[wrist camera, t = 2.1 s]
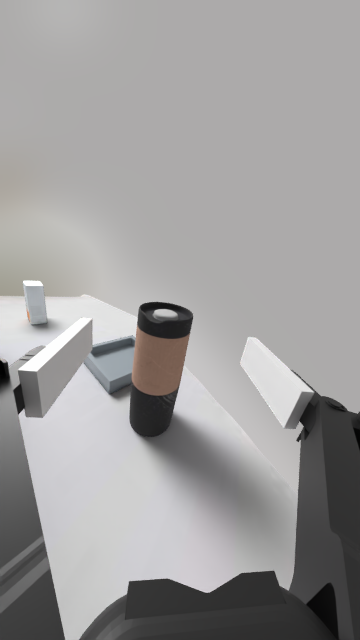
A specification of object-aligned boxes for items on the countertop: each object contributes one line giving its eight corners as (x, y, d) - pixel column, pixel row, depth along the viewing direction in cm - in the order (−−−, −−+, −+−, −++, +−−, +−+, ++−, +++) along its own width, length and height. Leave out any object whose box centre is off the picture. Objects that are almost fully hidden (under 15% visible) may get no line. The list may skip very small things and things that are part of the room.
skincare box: (27, 317, 58) (22, 280, 53) (43, 316, 61) (40, 280, 56) (30, 325, 54) (25, 285, 50) (47, 323, 57) (44, 285, 53)
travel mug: (163, 397, 36) (180, 302, 30) (178, 430, 30) (204, 320, 23) (124, 405, 33) (132, 300, 26) (132, 445, 27) (146, 321, 20)
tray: (80, 358, 43) (80, 348, 42) (131, 344, 53) (132, 335, 52) (109, 394, 35) (109, 381, 34) (163, 369, 45) (164, 358, 44)
